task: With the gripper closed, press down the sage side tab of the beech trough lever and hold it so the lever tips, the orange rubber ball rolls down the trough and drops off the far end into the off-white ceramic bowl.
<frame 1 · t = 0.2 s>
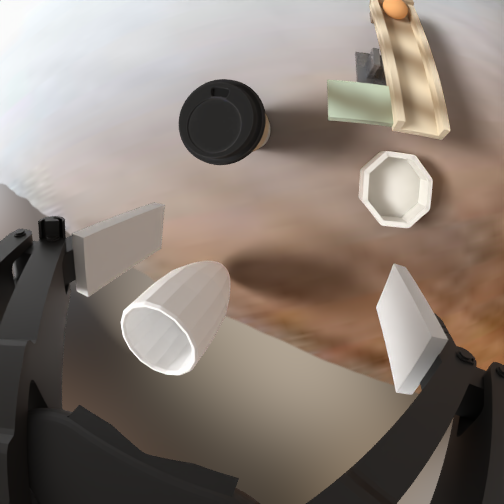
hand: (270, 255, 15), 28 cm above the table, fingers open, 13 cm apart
ball: (395, 8, 22), point 7 cm above the table, tilted 6°, touching lever
bowl: (392, 187, 37), on the table
fulcrum: (392, 76, 31), on the table
lever: (379, 47, 24), point 9 cm above the table, hinge at -20.0°, touching ball
coffee cup: (251, 131, 39), on the table
cup: (222, 267, 48), on the table
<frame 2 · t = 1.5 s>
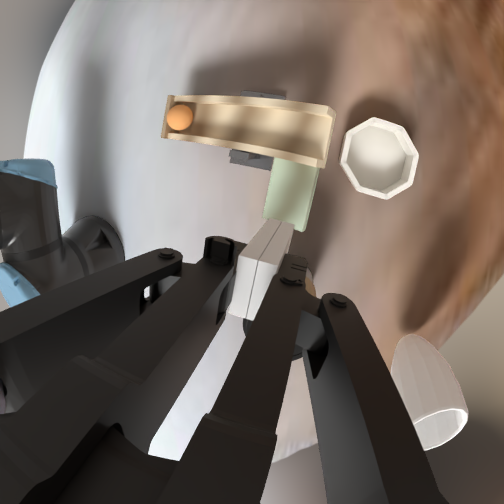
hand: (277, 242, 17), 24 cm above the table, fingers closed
ball: (179, 117, 33), point 7 cm above the table, tilted 6°, touching lever
bowl: (375, 157, 35), on the table
fulcrum: (258, 129, 38), on the table
lever: (229, 151, 31), point 9 cm above the table, hinge at -20.0°, touching ball
coffee cup: (294, 279, 44), on the table
cup: (405, 334, 43), on the table
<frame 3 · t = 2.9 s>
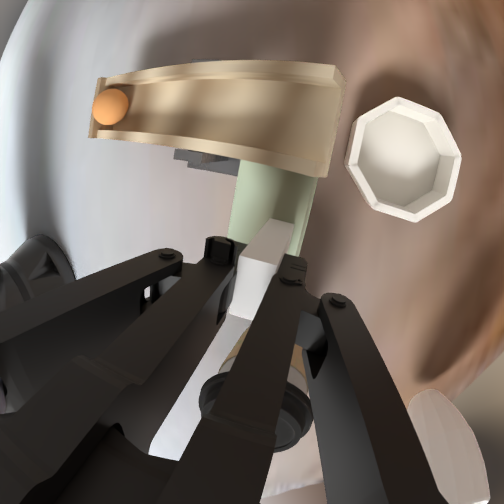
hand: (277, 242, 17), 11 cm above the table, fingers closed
ball: (110, 106, 21), point 7 cm above the table, touching lever
bowl: (396, 158, 23), on the table
fulcrum: (226, 118, 26), on the table
lever: (172, 151, 19), point 9 cm above the table, hinge at -17.6°, touching ball, gripper
coffee cup: (280, 324, 32), on the table
cup: (420, 384, 31), on the table
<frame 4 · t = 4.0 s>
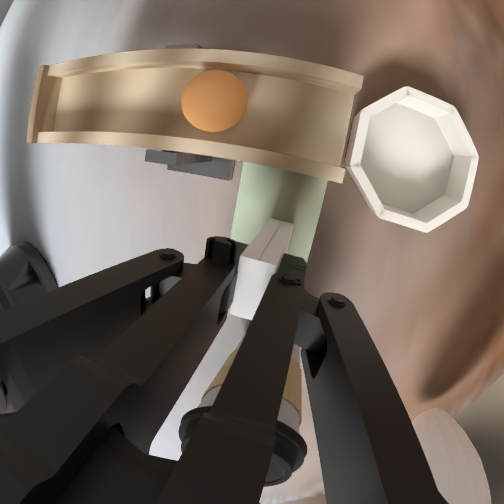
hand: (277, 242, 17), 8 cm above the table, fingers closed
ball: (214, 100, 13), point 9 cm above the table, tilted 55°, touching lever
bowl: (404, 158, 20), on the table
fulcrum: (210, 114, 22), on the table
lever: (152, 154, 16), point 9 cm above the table, hinge at 5.2°, touching ball, gripper
coffee cup: (272, 342, 29), on the table
cup: (423, 402, 28), on the table
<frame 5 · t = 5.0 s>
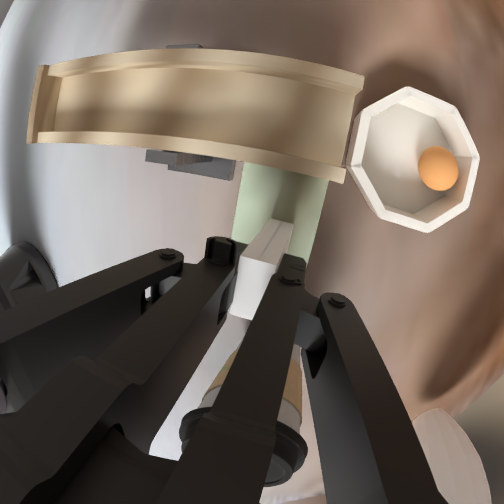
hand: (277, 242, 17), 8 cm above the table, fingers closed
ball: (438, 168, 17), point 2 cm above the table, tilted 151°, touching bowl
bowl: (405, 158, 20), on the table
fulcrum: (210, 114, 22), on the table
lever: (152, 154, 16), point 9 cm above the table, hinge at 5.4°, touching gripper
coffee cup: (273, 342, 29), on the table
cup: (423, 402, 28), on the table
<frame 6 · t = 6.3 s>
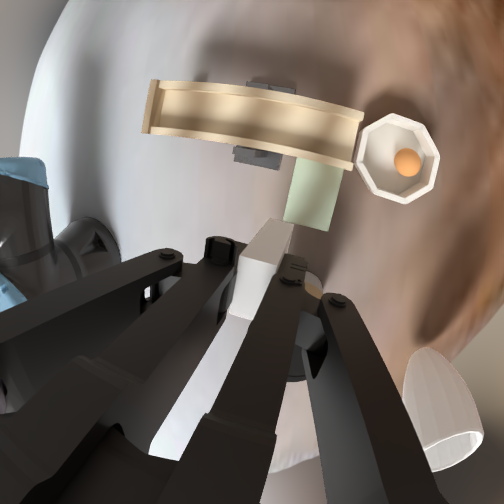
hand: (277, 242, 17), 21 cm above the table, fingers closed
ball: (407, 162, 29), point 2 cm above the table, tilted 175°, touching bowl
bowl: (392, 158, 31), on the table
fulcrum: (264, 125, 34), on the table
lever: (242, 150, 27), point 9 cm above the table, hinge at 5.5°
coffee cup: (302, 288, 41), on the table
cup: (417, 346, 39), on the table
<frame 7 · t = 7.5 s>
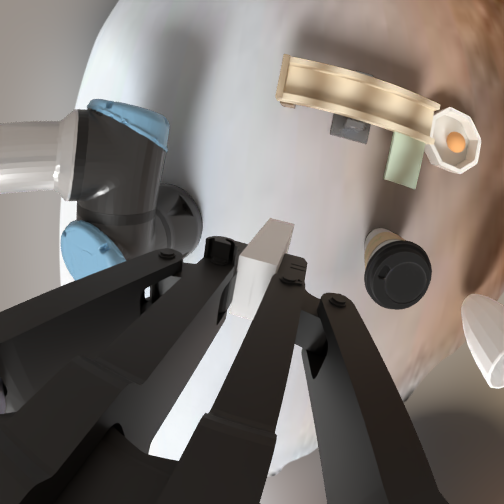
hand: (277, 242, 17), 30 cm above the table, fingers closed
ball: (456, 142, 34), point 2 cm above the table, tilted 163°, touching bowl
bowl: (446, 140, 36), on the table
fulcrum: (354, 107, 39), on the table
lever: (358, 121, 32), point 9 cm above the table, hinge at 5.5°
coffee cup: (380, 244, 45), on the table
cup: (464, 296, 43), on the table
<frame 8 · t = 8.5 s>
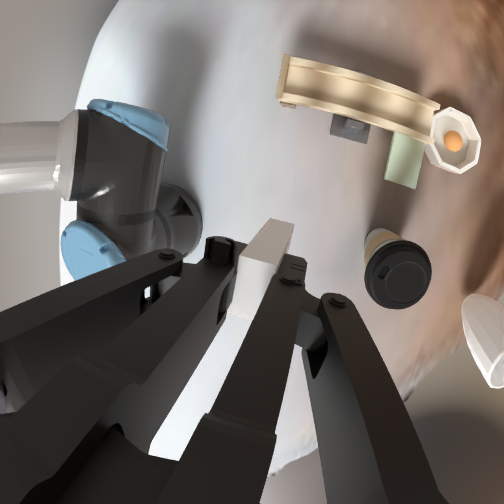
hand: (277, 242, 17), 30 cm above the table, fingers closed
ball: (453, 140, 34), point 2 cm above the table, tilted 145°, touching bowl
bowl: (446, 140, 36), on the table
fulcrum: (354, 107, 39), on the table
lever: (358, 121, 32), point 9 cm above the table, hinge at 5.5°
coffee cup: (380, 244, 45), on the table
cup: (464, 296, 43), on the table
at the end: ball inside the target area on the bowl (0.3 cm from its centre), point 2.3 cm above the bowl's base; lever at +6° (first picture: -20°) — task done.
